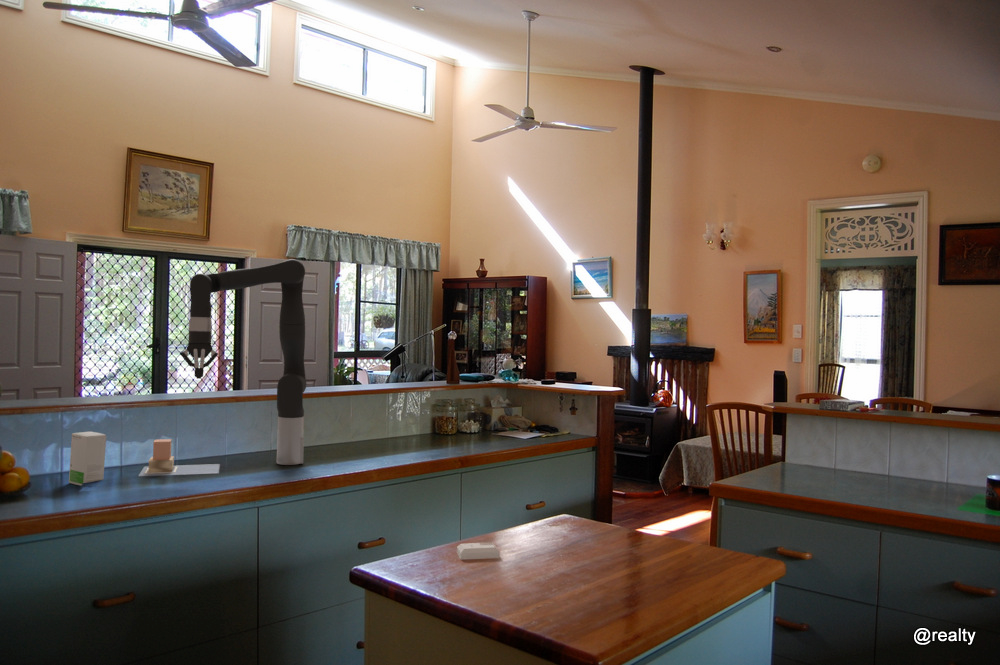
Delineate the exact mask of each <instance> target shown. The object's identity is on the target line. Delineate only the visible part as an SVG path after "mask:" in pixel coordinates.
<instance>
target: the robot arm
mask: <svg viewBox="0 0 1000 665" xmlns="http://www.w3.org/2000/svg"><path fill="white" fill-rule="evenodd" d="M305 276H306V268H305V266H304V264H303V263H302V262H301V261H299V260H298V259H293V258H290V259H289V258H288V259H286V260H285V261H281V262H278V263H274V264H270V265H265V266H258V267H251V268H250V267H249V268H238V269H231V270H224V271H220V272H218V273H216V272H215V273H207V274H204V273H197V274H194V275H193V276H192V277H191V279H190V282H189V296H190V307H189V308H190V309H189V323H188V339H187V340H188V341H187V342H188V344H187V346H186V349H185V350H183V351H181V352H180V356H181V357H182V358H183V359H184V361H185V362H186V363H187V364H188V365H189V366H190V367H192V368H194V377H195V378H196V380H198V379H202V378H203V377H204V368H207V367H208V366H210V365H211V363H212V362H213V361H214V360H215V359H216V358H217V356H219V353H218V352H217V351H215V350H214V349H213V346H212V329H213V327H212V325H213V324H212V303H211V295H212V294H213V293H218V292H221V291H222V292H223V291H234V290H240V289H242V290H243V289H247V288H252V287H255V286H260V285H265V284H275V283H277V284H280V285H281V305H280V312H279V333H278V334H279V342H280V347H281V351H282V355H283V361H284V362H283V364H284V365H283V375H282V376H281V377H280V378H279V380H278V382H277V386H276V388H277V389H276V409H277V433H276V434H277V435H276V436H277V437H276V438H277V439H276V440H277V442H276V464H277V465H281V466H282V465H285V466H289V465H291V466H292V465H294V466H295V465H299V464H300V465H301V464H302V465H303V464H304V448H305V447H304V445H305V444H304V443H305V439H304V429H305V428H304V427H305V426H304V423H305V409H304V404H303V403H304V402H303V401H304V400H303V398H304V396H303V395H304V392H305V391H306V389H307V377H306V370H305V346H306V319H305V318H306V314H305V309H304V302H303V289H304V288H303V287H304V279H305ZM189 355H190V356H191V357H192V358H193V361H194V362H192V360H191V359H190V357H189ZM209 355H210V356H211V357H210V358H209V359H208V360H207V361H206V362H205V359H206V358H207V357H208V356H209ZM199 359H200V360H199Z"/></svg>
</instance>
